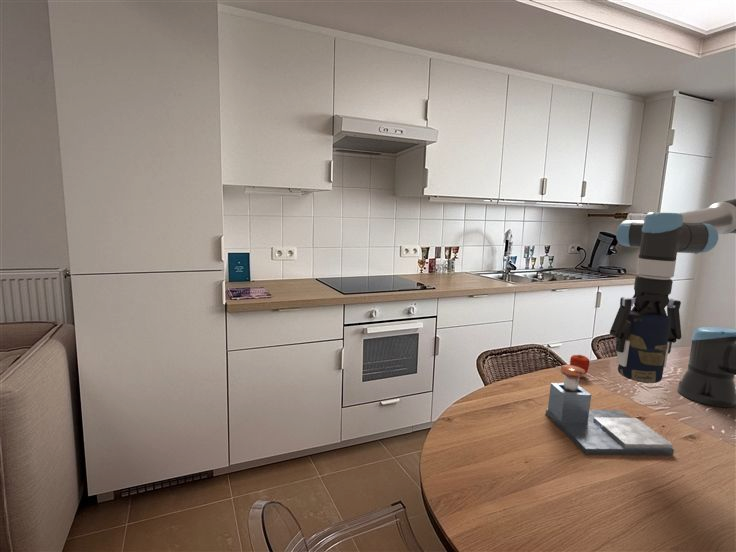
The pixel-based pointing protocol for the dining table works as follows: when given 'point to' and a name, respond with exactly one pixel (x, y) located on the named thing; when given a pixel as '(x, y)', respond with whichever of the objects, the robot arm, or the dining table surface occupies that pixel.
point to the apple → (580, 362)
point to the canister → (646, 347)
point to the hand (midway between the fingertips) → (640, 364)
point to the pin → (571, 377)
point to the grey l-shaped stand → (602, 426)
